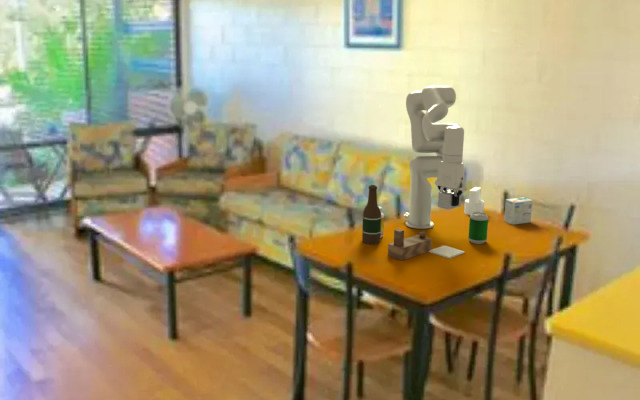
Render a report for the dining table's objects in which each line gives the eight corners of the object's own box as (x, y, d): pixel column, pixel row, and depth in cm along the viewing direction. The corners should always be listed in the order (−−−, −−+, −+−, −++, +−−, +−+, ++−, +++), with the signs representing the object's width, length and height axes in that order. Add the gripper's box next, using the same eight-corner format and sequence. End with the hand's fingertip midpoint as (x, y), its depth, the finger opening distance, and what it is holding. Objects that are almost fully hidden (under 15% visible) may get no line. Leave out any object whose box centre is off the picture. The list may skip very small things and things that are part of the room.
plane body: (401, 260, 258) (402, 233, 255) (387, 255, 263) (388, 229, 260) (430, 250, 270) (432, 224, 267) (417, 246, 275) (418, 220, 272)
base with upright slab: (479, 216, 318) (481, 192, 315) (461, 213, 323) (463, 189, 320) (485, 212, 326) (487, 188, 323) (467, 209, 330) (469, 185, 327)
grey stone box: (448, 209, 258) (449, 192, 257) (437, 207, 262) (438, 190, 260) (460, 206, 264) (461, 189, 262) (450, 203, 267) (451, 186, 266)
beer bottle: (382, 240, 282) (384, 184, 276) (377, 245, 275) (379, 188, 269) (364, 238, 284) (366, 182, 278) (359, 243, 277) (361, 187, 271)
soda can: (486, 245, 277) (489, 217, 274) (468, 243, 279) (470, 216, 276) (486, 239, 284) (488, 212, 281) (468, 238, 286) (470, 211, 283)
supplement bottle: (385, 237, 285) (387, 208, 282) (371, 239, 283) (372, 209, 280) (379, 233, 291) (380, 204, 288) (365, 234, 289) (366, 205, 286)
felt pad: (428, 252, 268) (428, 250, 268) (444, 246, 274) (444, 245, 274) (449, 258, 261) (449, 256, 261) (464, 252, 267) (464, 251, 267)
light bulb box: (521, 218, 316) (523, 196, 313) (531, 222, 310) (533, 200, 307) (503, 221, 311) (505, 198, 309) (512, 225, 306) (514, 202, 303)
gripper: (428, 156, 262) (426, 201, 266) (465, 163, 249) (461, 210, 254) (440, 154, 266) (438, 198, 271) (476, 160, 254) (473, 207, 259)
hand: (449, 203), depth 263 cm, fingers closed on grey stone box, 5 cm apart
